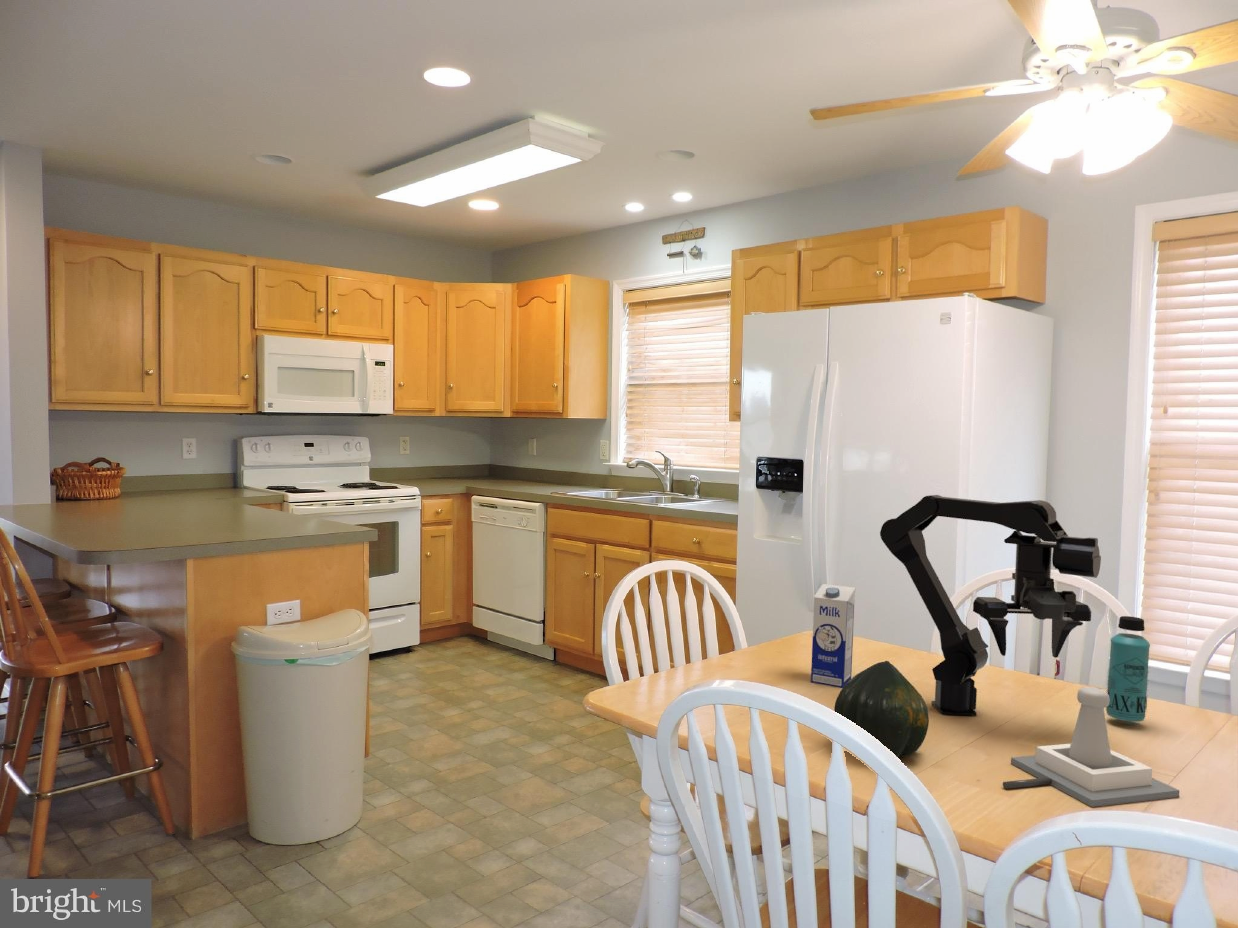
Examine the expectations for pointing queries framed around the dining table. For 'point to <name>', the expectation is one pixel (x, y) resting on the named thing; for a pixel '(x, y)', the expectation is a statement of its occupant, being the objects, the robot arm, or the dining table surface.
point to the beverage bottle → (1128, 672)
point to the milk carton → (832, 635)
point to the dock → (1091, 778)
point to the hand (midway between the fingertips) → (1028, 656)
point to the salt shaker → (1091, 730)
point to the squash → (886, 708)
